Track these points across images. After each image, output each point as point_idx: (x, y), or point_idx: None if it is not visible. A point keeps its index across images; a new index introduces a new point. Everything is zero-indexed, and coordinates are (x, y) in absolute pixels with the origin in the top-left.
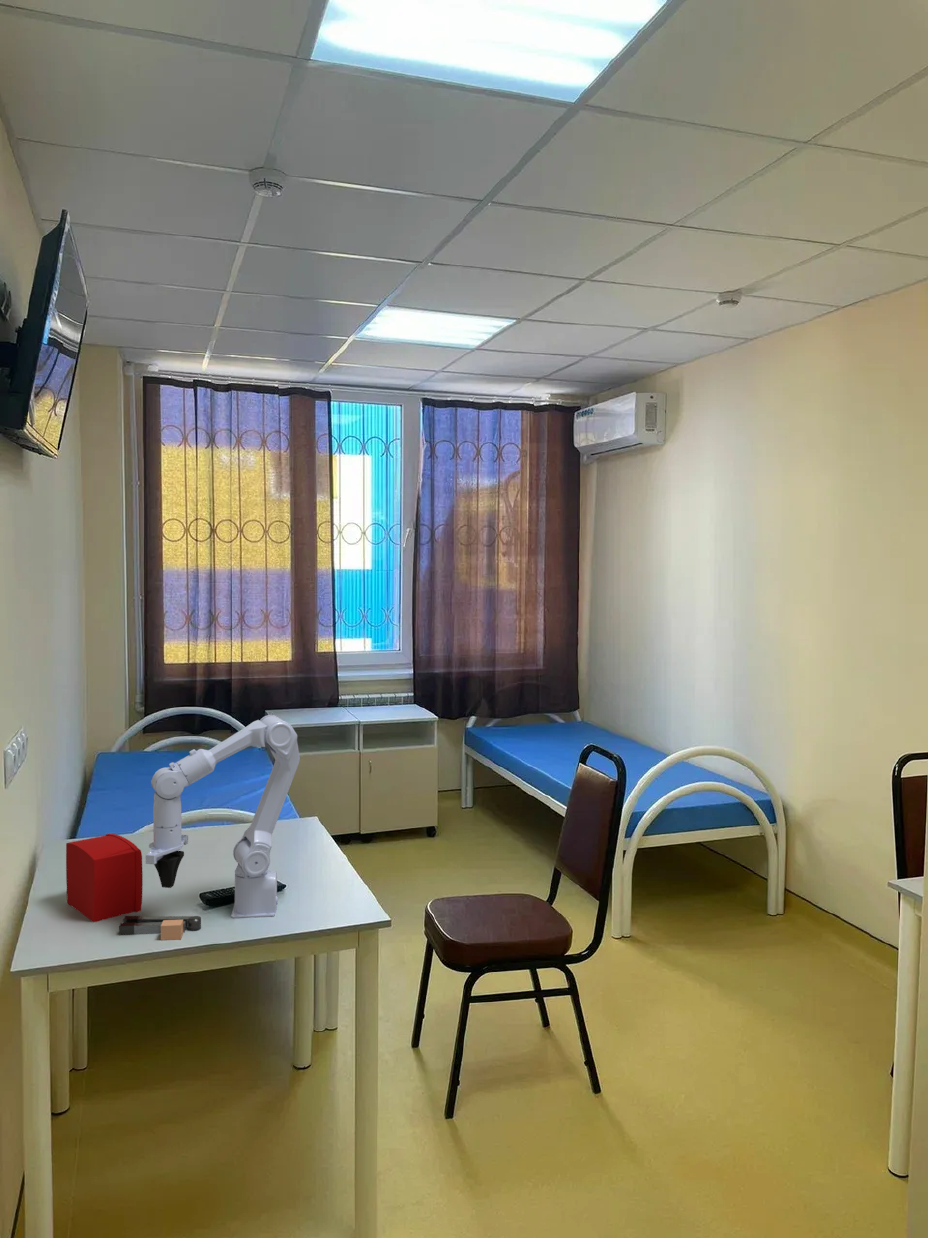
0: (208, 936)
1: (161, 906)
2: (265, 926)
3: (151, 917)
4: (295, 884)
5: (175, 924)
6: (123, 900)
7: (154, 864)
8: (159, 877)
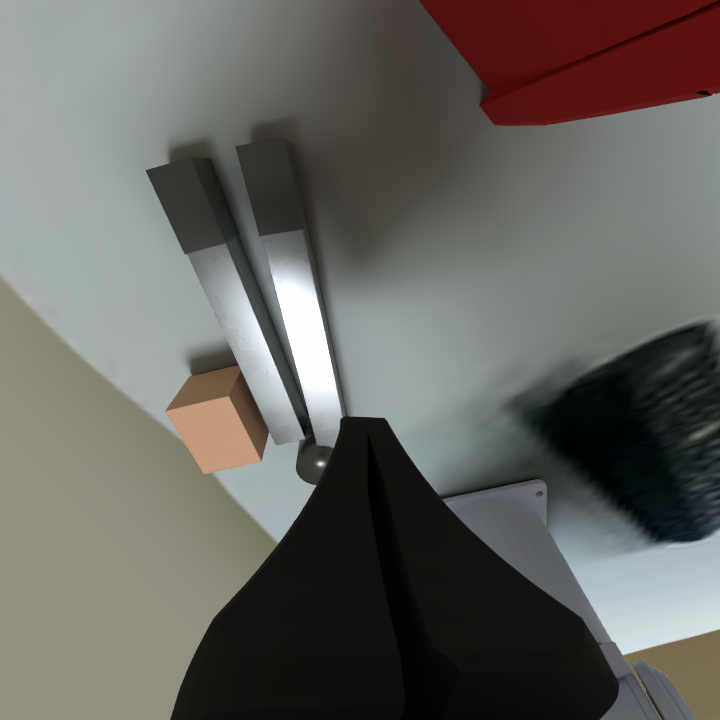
0: (279, 489)
1: (567, 211)
2: None
3: (301, 297)
4: (697, 556)
5: (202, 455)
6: (468, 2)
7: (254, 581)
8: (332, 458)
